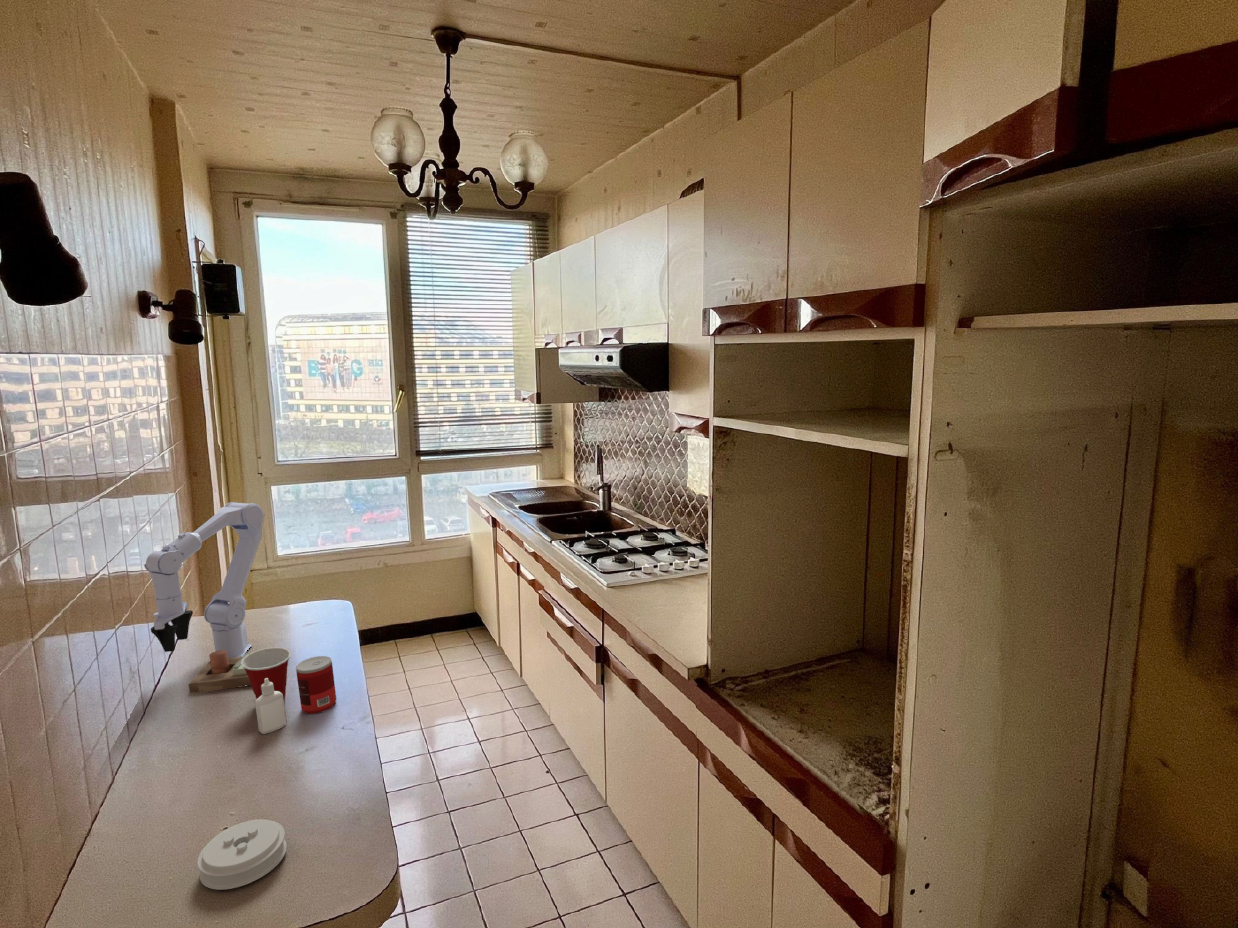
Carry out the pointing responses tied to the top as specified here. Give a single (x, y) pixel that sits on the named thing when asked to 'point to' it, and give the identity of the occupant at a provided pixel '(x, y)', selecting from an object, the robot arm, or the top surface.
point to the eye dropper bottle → (270, 709)
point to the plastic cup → (267, 668)
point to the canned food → (316, 684)
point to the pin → (219, 662)
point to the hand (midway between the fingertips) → (176, 644)
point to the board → (218, 678)
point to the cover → (239, 667)
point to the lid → (242, 854)
